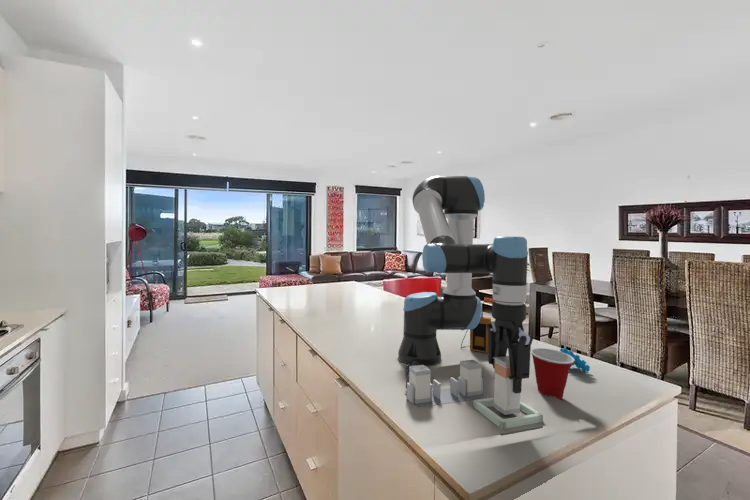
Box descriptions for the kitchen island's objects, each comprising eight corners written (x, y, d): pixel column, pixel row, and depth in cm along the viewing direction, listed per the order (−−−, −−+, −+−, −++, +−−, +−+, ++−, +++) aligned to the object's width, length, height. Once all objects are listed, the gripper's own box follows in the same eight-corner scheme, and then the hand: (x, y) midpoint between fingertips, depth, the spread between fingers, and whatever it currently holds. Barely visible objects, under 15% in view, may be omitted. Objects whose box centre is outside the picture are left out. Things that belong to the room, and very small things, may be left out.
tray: (473, 412, 89) (473, 400, 89) (510, 406, 92) (510, 394, 92) (501, 435, 78) (502, 422, 78) (542, 428, 82) (543, 414, 82)
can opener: (407, 375, 114) (407, 357, 114) (429, 377, 112) (429, 359, 112) (394, 398, 97) (394, 377, 97) (420, 402, 95) (420, 380, 95)
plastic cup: (572, 410, 91) (573, 362, 90) (526, 399, 96) (527, 355, 96) (575, 394, 100) (576, 351, 99) (532, 385, 105) (533, 345, 105)
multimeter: (504, 348, 142) (505, 298, 141) (498, 355, 133) (499, 301, 133) (468, 342, 150) (469, 294, 149) (460, 348, 141) (460, 298, 141)
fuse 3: (493, 406, 86) (494, 357, 86) (508, 404, 88) (509, 355, 87) (504, 414, 82) (505, 362, 82) (519, 412, 84) (520, 361, 83)
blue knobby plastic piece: (598, 371, 113) (575, 348, 113) (586, 385, 112) (563, 362, 113) (575, 364, 124) (554, 343, 124) (564, 377, 123) (544, 356, 124)
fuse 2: (459, 390, 98) (459, 361, 98) (472, 388, 100) (473, 359, 99) (467, 396, 94) (468, 366, 94) (481, 394, 96) (481, 364, 95)
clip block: (402, 399, 95) (403, 379, 95) (471, 390, 102) (471, 371, 102) (415, 413, 88) (415, 391, 88) (488, 402, 94) (488, 381, 94)
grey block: (408, 396, 94) (409, 366, 93) (423, 394, 95) (423, 364, 95) (415, 403, 90) (415, 371, 90) (430, 401, 91) (430, 370, 91)
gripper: (474, 297, 91) (472, 388, 92) (521, 309, 75) (518, 420, 76) (499, 296, 94) (497, 385, 94) (550, 308, 77) (547, 415, 78)
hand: (506, 400), depth 85 cm, fingers closed on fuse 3, 4 cm apart
